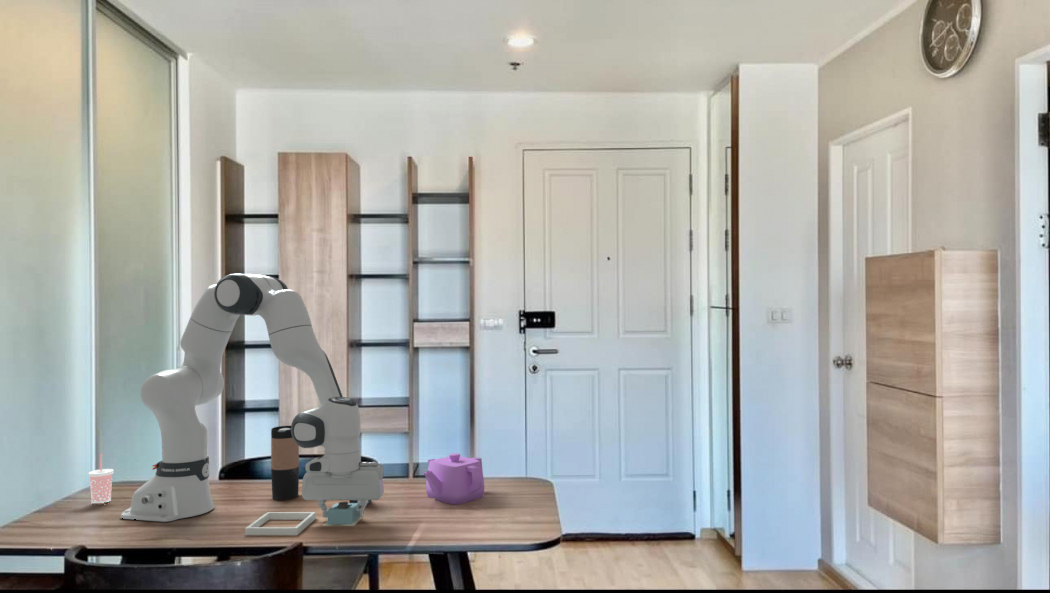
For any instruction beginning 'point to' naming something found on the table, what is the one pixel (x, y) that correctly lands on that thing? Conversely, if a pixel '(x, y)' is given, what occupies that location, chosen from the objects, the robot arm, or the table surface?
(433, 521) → the table surface
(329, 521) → the collar
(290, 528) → the white square frame
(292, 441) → the travel mug
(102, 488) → the beverage cup
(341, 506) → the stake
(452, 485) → the teakettle
